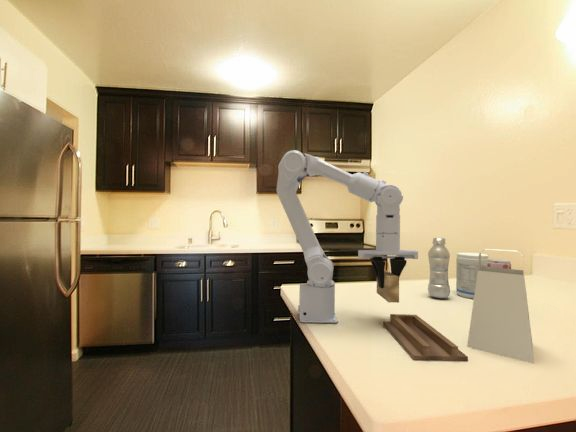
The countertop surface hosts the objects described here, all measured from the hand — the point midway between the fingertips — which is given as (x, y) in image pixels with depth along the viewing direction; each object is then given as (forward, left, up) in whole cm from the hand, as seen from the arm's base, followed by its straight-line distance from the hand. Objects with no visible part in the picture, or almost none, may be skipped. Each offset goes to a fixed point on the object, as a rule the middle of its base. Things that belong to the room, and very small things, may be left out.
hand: (387, 287), depth 73 cm
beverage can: (+35, +11, -9) cm, 38 cm away
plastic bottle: (+25, +25, -9) cm, 37 cm away
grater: (+19, -12, -9) cm, 25 cm away
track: (+3, -10, -9) cm, 14 cm away
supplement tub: (+38, +28, -9) cm, 48 cm away
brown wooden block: (0, 0, -3) cm, 3 cm away
